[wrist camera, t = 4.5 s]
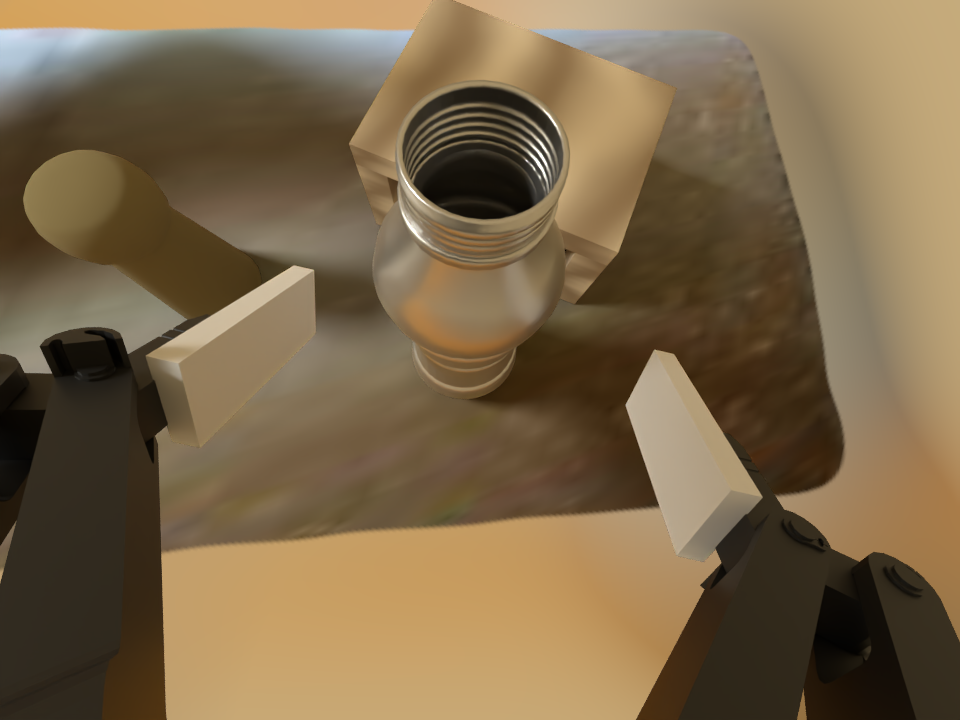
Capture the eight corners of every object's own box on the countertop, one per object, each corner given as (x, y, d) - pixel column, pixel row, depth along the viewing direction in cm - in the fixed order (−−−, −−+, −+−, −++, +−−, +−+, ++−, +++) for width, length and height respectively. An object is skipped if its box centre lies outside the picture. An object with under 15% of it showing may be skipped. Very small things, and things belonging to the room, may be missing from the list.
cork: (277, 267, 28) (169, 158, 17) (232, 340, 27) (85, 271, 16) (203, 234, 28) (50, 105, 18) (154, 305, 27) (-43, 213, 16)
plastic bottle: (519, 393, 27) (682, 265, 8) (423, 412, 27) (339, 322, 7) (500, 307, 29) (599, 13, 9) (408, 323, 28) (301, 39, 8)
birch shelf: (376, 223, 29) (348, 143, 22) (440, 103, 32) (436, -7, 24) (574, 304, 29) (618, 252, 21) (622, 176, 32) (677, 88, 24)
